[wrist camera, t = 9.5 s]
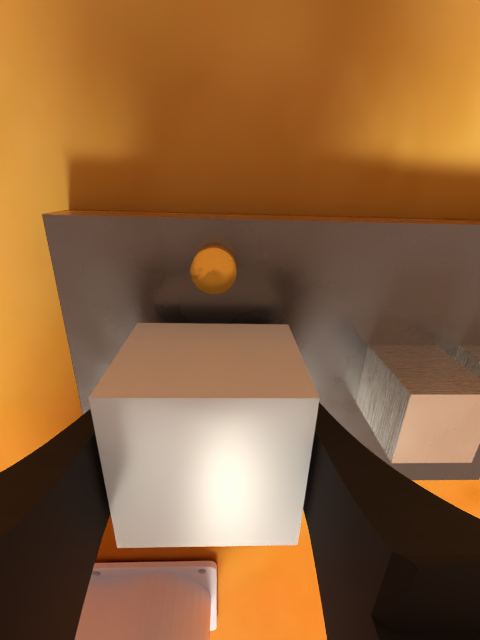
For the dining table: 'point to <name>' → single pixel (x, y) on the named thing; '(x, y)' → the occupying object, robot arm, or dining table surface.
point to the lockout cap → (206, 435)
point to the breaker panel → (299, 311)
